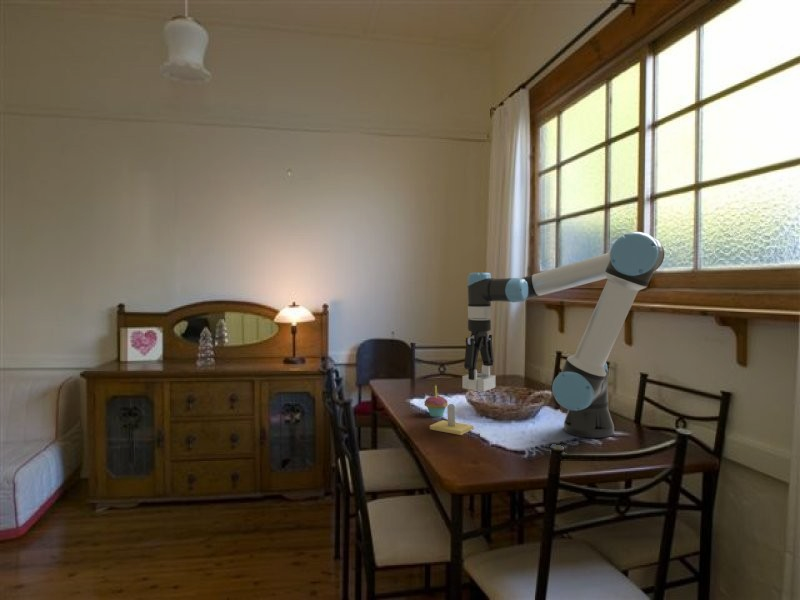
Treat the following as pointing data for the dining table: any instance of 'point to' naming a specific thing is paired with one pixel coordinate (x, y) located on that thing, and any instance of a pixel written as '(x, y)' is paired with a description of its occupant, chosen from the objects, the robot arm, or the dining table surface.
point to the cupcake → (436, 404)
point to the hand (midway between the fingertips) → (479, 386)
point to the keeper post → (451, 424)
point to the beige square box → (480, 382)
